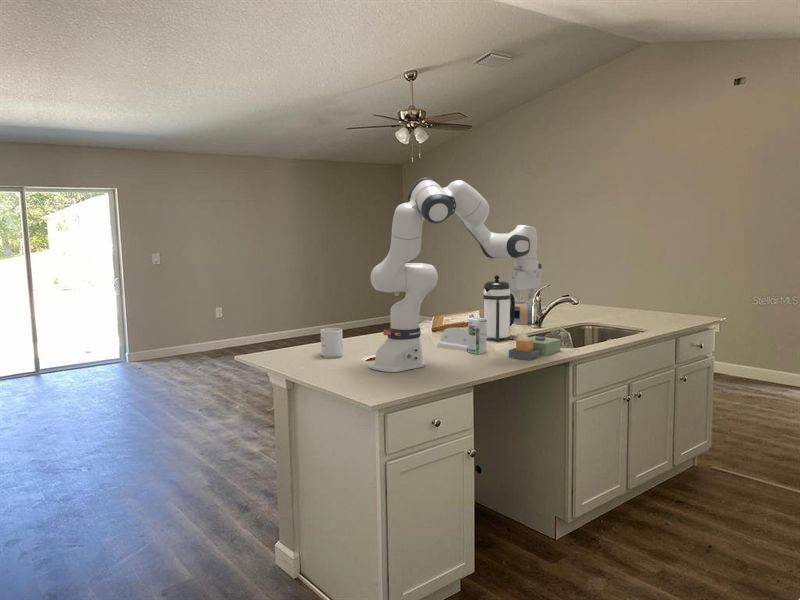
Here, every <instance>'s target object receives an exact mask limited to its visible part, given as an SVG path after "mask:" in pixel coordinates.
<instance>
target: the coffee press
mask: <svg viewBox="0 0 800 600" xmlns="http://www.w3.org/2000/svg"><path fill="white" fill-rule="evenodd" d="M494 279H495V280H487V281H486V282H485V283H484V284H483V286H482V289H483V294H482V296H483V297H482V311H483V312H482V317H483V319H487V338H489V339H495V343H500V339H505V338H508V339H509V340H510V341H511V340H513V336H512V334H511V326H512V324H513V322H514V318H515V301H516V300H515V296H514V294H512V293H511V290H510V289H509V282H508V281H505V280H499V279H500V276H499V275H497V274H495V276H494ZM510 303H511V319H510ZM509 336H511V338H510V337H509Z"/></svg>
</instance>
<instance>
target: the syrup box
mask: <svg viewBox="0 0 800 600" xmlns="http://www.w3.org/2000/svg"><path fill="white" fill-rule="evenodd" d="M467 323H468V326H467V328H468V329H467V330H468V349H467V353H469V354H470V353H471V354H475V355H479V354H484V353H487V348H488V347H487V343H488V341H487V338H488V337H487V319H484V317H482V318H481V317H469V318H468V322H467Z"/></svg>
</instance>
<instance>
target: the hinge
mask: <svg viewBox="0 0 800 600" xmlns="http://www.w3.org/2000/svg"><path fill="white" fill-rule="evenodd" d="M441 334H442V335H441V336H440V337H441V338H440V341H439V342H437V348H443V349H446V350H447V349H449V350H454V351H460V352H466V353H468V329H466V328H462V327H455V326H454V327H447V328H445V329H444V330H443V332H442V333H441Z"/></svg>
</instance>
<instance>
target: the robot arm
mask: <svg viewBox="0 0 800 600" xmlns="http://www.w3.org/2000/svg"><path fill="white" fill-rule="evenodd" d="M407 201H408V202H403V203H400V204H398V205H397V206H396V207H395V210H394V212H393V218H392V223H391V225H392V226H391V238H390V247H389V250H388V253H387V255H386V257H385V258H383V260H382V261H381V262H380V263H378V264H377V265H375V266H374V267H373V268H372V270H371V272H370V283H371V286H372V287H373V288H374V290H375V291H379V292H385V293H405V296H404V297H403V299H401V300H399V301H397V302H395V303H394V304H393V305H392V306H391V307H390V327H389V329H388V330H387V329H384V330H383V332H382V333H383V336H387V338H386V340H385V341H384V342H383V343H382V344H381V346H380V347H379V348H378V349H377V350H376V353H375V357H374V358H375V360H374V362H372V363H369V365H368V368H370V369H372V370H375V371H380V372H386V373H387V372H388V373H398V372H403V371H408V370H412V369H413V370H414V369H419V368H423V367H425V366H426V363H425V362H424V356H423V348H422V347H423V346H422V342H421V339H420V337H421V333H422V332H421V327H420V313H421V312H420V310H421V305H422V302H423V300H424V298H426V295H428V294H429V292H431V291H432V290H433V289H434V288H435V287H436V286H437V283H438V280H439V273H438V271H437V269H436V268H435V266H434V265H433V264H430V263H423V262H410V261H411V260H414V259H415V258H417V257H418V255H419V254H420V252H421V249H422V236H423V224H424V221H425V220H426V221H427V222H428V223H431V224H434V225H435V224H440V223H441V224H442V223H443V222H445V221H446V220H447V219H449V218H450V216H452V215H453V214H454V213H455V214H456V215H457V216H458V218H460V220H462V224H463V226H464V227H465V229H466V230H467V231H468V232H469V234H471V237H473V238H474V240H476V242H477V243H478V245H479V246H480V249H481V252H482V253H483V255H484V256H485V257H487V258H488V259H513V260H514V261H513V266H514V267H513V268H512V269H511V272H510V275H509V282H508V283H509V289H510V292H514V295H515V297H516V300H517V302H521V301H523V297H522V294H521V293H522V291H524V290H529V292H528V294H527V295H528V296H527V297H528V298H527V299H528V300H533V299H534V297H535V293H536V288H540V287H541V285H542V277H543V276H542V275H543V274H542V270H543V266H544V265H543V263H541V262H539V261H538V255H537V250H538V234H537V228H536V227H535V226H534V225H531V224H523V223H522V224H517V225H516V226H515V228H514V229H513V230H511V231H510V232H508V233H497V232H492V231H490V230H489V229H488V227H487V226H486V224H484V223H485V222H486V220H487V219H488V217H489V215H490V205H489V202H488V201H487V199H486V198H485V197H483V195H482V194H480V192H479V191H477V189H476V188H474V187H473V186H471V184H469V183H467V182H465V181H464V180H462V179H461V180H460V179H456V180H454V181H452V182H450V183H449V184H448V185H447V186H445V187H442V186H440V183H438V182H437V181H436V180H435V179H433V178H431V177H425V176H424V177H421V178H419V179H418V180H416V181H415V183H414V184H413V185H412V188H411V191H410V192H409V194H408V196H407Z"/></svg>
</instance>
